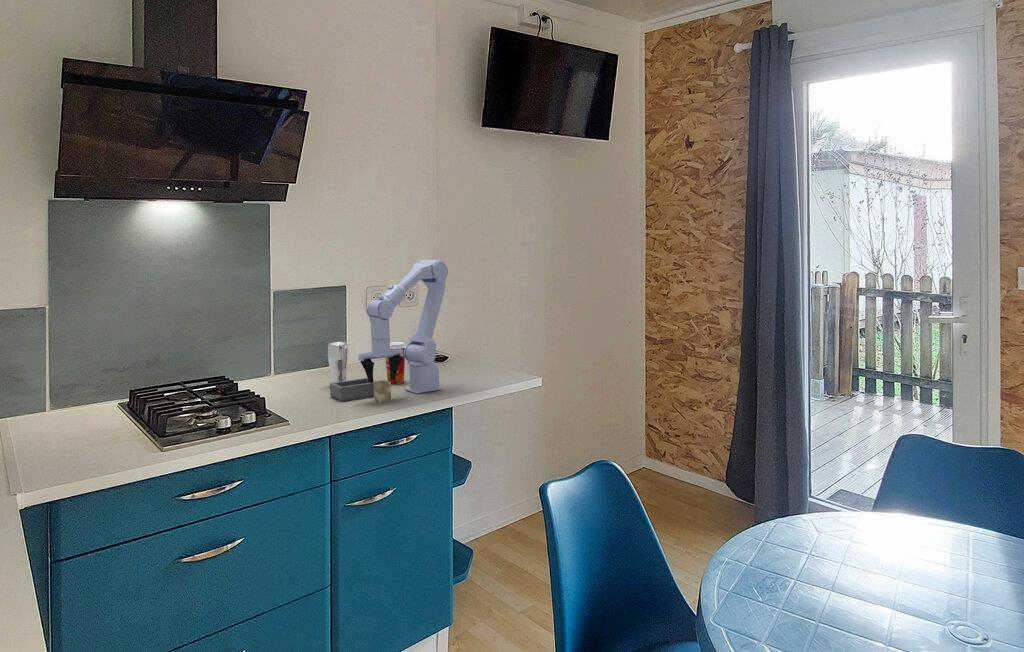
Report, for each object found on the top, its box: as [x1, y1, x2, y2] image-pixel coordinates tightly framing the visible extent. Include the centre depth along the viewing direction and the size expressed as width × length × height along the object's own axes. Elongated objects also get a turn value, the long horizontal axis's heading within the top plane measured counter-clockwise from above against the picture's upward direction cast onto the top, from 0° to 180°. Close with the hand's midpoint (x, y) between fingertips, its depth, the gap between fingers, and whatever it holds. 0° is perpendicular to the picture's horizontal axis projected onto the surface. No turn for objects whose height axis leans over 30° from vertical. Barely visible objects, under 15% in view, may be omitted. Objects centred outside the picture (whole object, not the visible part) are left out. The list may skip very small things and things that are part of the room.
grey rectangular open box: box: [329, 377, 375, 403], centre depth 222 cm, size 13×8×4 cm, turn 126°
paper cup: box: [385, 341, 407, 385], centre depth 241 cm, size 8×8×14 cm
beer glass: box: [327, 341, 350, 383], centre depth 236 cm, size 7×7×15 cm
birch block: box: [373, 379, 392, 403], centre depth 217 cm, size 4×4×6 cm
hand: (381, 380), depth 217 cm, fingers open, 7 cm apart
